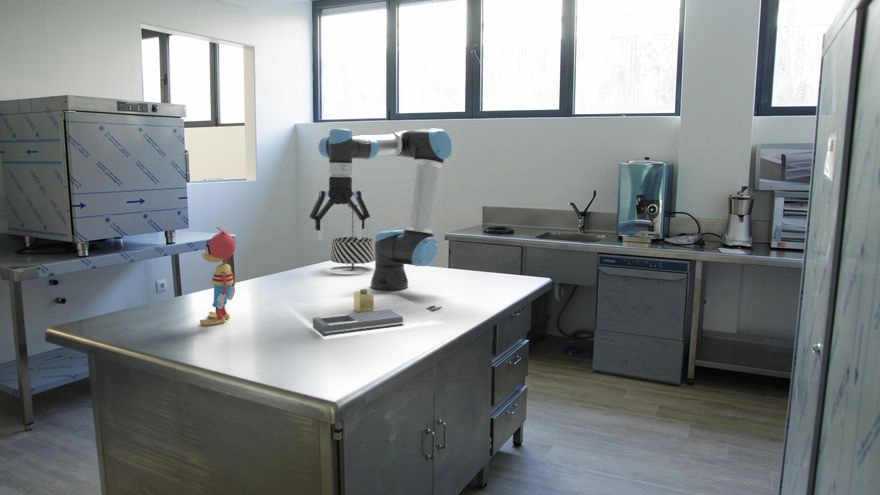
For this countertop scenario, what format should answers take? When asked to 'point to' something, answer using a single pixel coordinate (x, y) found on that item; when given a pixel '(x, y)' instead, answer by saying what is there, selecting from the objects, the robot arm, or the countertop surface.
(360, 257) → the pendant light
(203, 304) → the countertop surface
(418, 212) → the robot arm
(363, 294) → the block
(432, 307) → the pliers
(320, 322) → the rail board
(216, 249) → the toy
